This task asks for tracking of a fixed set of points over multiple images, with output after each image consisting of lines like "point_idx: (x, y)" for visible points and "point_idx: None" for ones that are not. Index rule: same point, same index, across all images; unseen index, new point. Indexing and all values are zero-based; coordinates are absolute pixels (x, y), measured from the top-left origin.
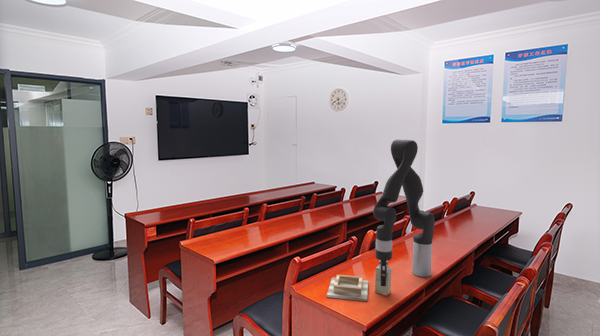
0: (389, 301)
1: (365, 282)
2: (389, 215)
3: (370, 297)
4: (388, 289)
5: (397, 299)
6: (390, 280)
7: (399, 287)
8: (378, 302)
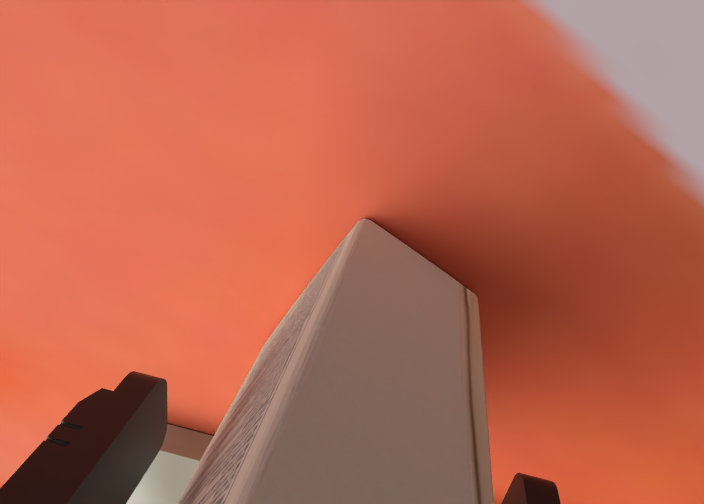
0: (659, 304)
1: (170, 476)
2: None
3: (503, 483)
4: (439, 314)
5: (619, 163)
6: (347, 363)
7: (165, 4)
8: (653, 440)
